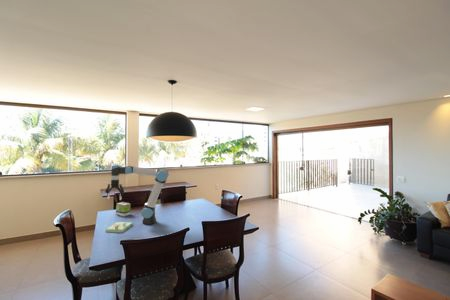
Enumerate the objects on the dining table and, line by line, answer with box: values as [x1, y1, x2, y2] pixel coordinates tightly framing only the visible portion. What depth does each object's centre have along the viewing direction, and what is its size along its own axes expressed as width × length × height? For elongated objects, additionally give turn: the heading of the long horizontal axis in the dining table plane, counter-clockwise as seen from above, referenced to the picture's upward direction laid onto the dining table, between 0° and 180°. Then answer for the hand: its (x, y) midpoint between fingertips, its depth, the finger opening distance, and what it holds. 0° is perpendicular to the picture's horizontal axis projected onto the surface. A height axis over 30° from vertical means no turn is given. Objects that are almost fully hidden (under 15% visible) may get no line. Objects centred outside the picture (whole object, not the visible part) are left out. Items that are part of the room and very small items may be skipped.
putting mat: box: [105, 221, 134, 234], centre depth 222 cm, size 17×22×3 cm
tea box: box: [115, 201, 131, 217], centre depth 269 cm, size 15×10×15 cm
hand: (114, 199), depth 223 cm, fingers open, 12 cm apart
